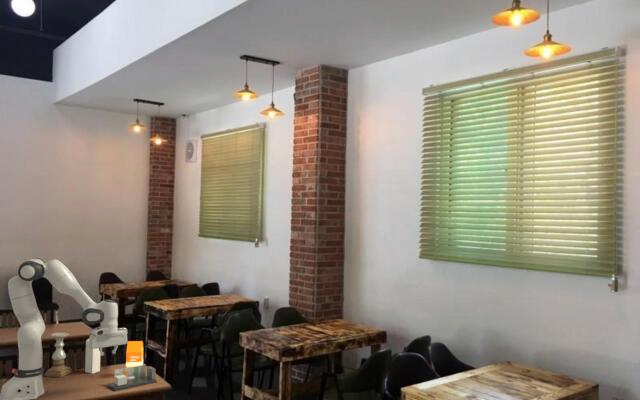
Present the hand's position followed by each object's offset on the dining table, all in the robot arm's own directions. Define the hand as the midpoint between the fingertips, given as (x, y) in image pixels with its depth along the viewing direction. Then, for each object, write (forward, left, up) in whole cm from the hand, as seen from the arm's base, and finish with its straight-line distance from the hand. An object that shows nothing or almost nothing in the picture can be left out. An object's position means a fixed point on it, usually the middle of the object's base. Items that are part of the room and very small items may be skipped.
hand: (108, 354), depth 296 cm
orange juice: (+22, +17, -19) cm, 34 cm away
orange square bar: (+12, +3, -17) cm, 21 cm away
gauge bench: (+14, 0, -19) cm, 24 cm away
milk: (+5, +38, -19) cm, 43 cm away
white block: (+10, +1, -17) cm, 20 cm away
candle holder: (-12, +45, -19) cm, 50 cm away
